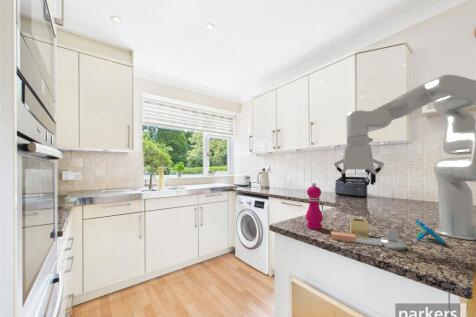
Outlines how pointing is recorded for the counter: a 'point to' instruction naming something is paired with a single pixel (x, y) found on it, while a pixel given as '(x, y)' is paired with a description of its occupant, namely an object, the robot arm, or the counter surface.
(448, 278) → the counter surface
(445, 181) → the robot arm
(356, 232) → the olive open-top box
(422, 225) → the teal branched frame
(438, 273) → the counter surface
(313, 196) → the pepper mill
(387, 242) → the ratchet
